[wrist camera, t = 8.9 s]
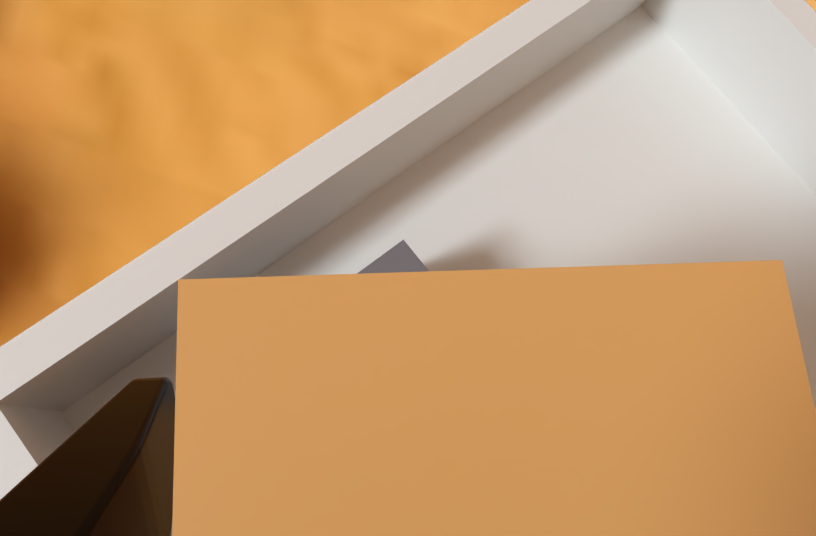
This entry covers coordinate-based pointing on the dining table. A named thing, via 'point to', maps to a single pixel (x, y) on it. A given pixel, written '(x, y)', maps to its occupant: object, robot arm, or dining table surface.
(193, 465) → the tan square peg
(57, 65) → the dining table surface
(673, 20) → the walled tray
